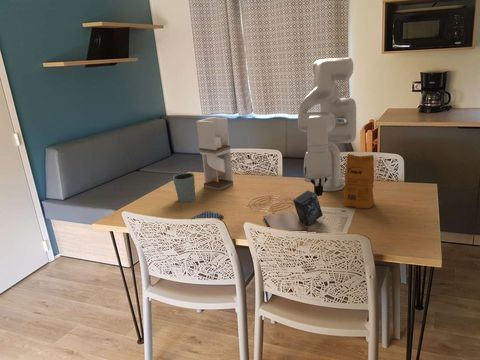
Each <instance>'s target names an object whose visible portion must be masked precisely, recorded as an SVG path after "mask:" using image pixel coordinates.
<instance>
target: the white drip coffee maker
mask: <svg viewBox="0 0 480 360" xmlns="http://www.w3.org/2000/svg"><path fill="white" fill-rule="evenodd" d="M228 122H229V121H228V118H226V117H214V116H212V117H208V118H203V119H199V120H196V130H197V131H196V132H197V136H198V137H197V138H198V146H199V154H200V155H201V158H202V165H203V167H202V168H203V175H204V176H203V177H204V182H203V187H204V188H208V189H211V190H217V191H221V190H223V189H226V188H229V187H231V186H233V185H234V176H233V166H232V165H233V164H232V154H231V152H232V151H231V144H230V133H229V123H228Z"/></svg>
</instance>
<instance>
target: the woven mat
mask: <svg viewBox="0 0 480 360" xmlns="http://www.w3.org/2000/svg"><path fill="white" fill-rule="evenodd" d="M195 218H218V219H221V220H222V219H224V218H225V216H224V214H221V213H218V212H213V211H210V210H207V211H204V212H202V213H199V214H197V215H194V216H193V217H191V220H192V219H195Z"/></svg>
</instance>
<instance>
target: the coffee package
mask: <svg viewBox="0 0 480 360" xmlns="http://www.w3.org/2000/svg"><path fill="white" fill-rule="evenodd" d="M374 156H375V155H374V154H369V155H362V156H358V155H355V154H350V153H347V158H346V167H345V168H346V169H345V176H344V177H345V182H344V188H343V204H344V207H353V208H355V209H370V208H372V206H373V205H374V202H375V201H374V200H375V199H374V192H373V188H374V182H375V170H374V169H375V168H374V167H375V165H374V160H375V159H374V158H375V157H374Z"/></svg>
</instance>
